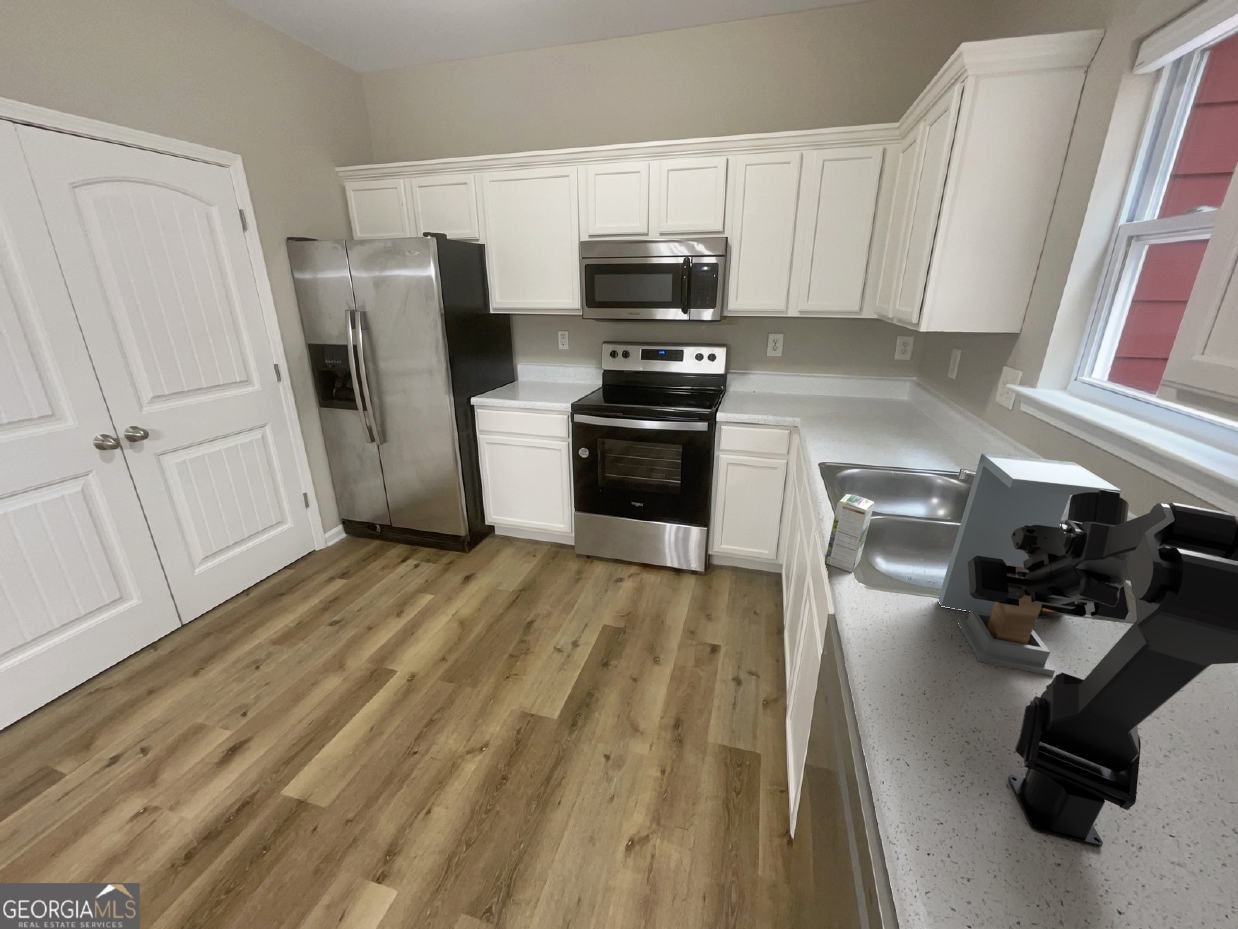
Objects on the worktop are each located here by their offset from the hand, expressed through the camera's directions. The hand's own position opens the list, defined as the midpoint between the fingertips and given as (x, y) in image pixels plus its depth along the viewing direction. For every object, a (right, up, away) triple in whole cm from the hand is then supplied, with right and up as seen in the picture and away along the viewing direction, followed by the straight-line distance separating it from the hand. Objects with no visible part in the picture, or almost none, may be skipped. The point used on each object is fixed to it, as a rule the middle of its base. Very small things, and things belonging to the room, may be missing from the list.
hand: (1014, 598), depth 80 cm
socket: (-1, -9, +2) cm, 9 cm away
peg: (-1, -7, +1) cm, 7 cm away
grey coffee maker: (+1, -7, +6) cm, 9 cm away
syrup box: (-16, 0, +25) cm, 30 cm away
